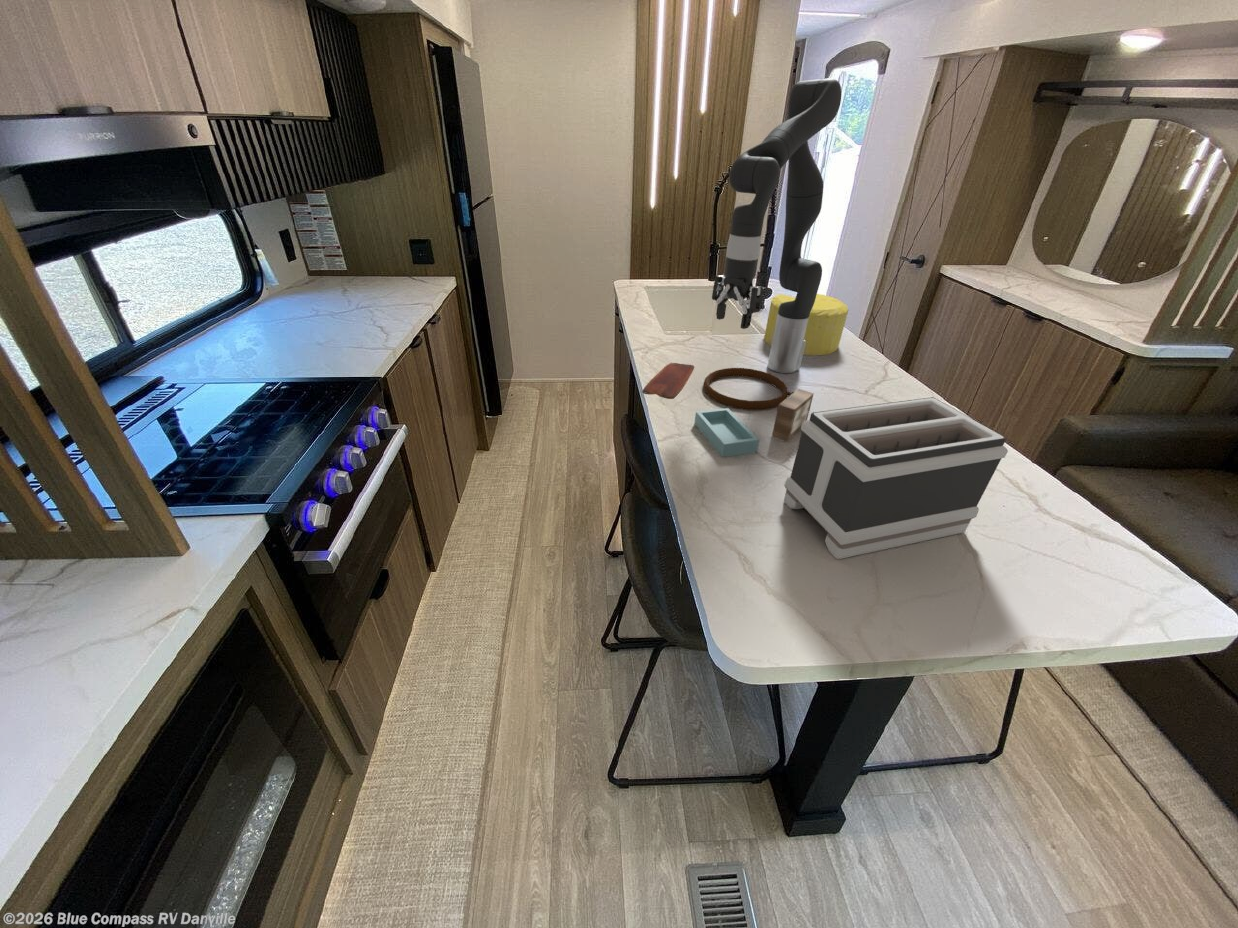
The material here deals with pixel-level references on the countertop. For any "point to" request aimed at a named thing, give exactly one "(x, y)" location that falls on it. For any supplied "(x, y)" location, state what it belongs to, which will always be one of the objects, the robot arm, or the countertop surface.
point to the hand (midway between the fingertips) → (732, 323)
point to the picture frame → (792, 414)
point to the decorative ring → (745, 403)
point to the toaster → (892, 473)
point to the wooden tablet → (669, 380)
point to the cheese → (814, 323)
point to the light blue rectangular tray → (726, 432)
